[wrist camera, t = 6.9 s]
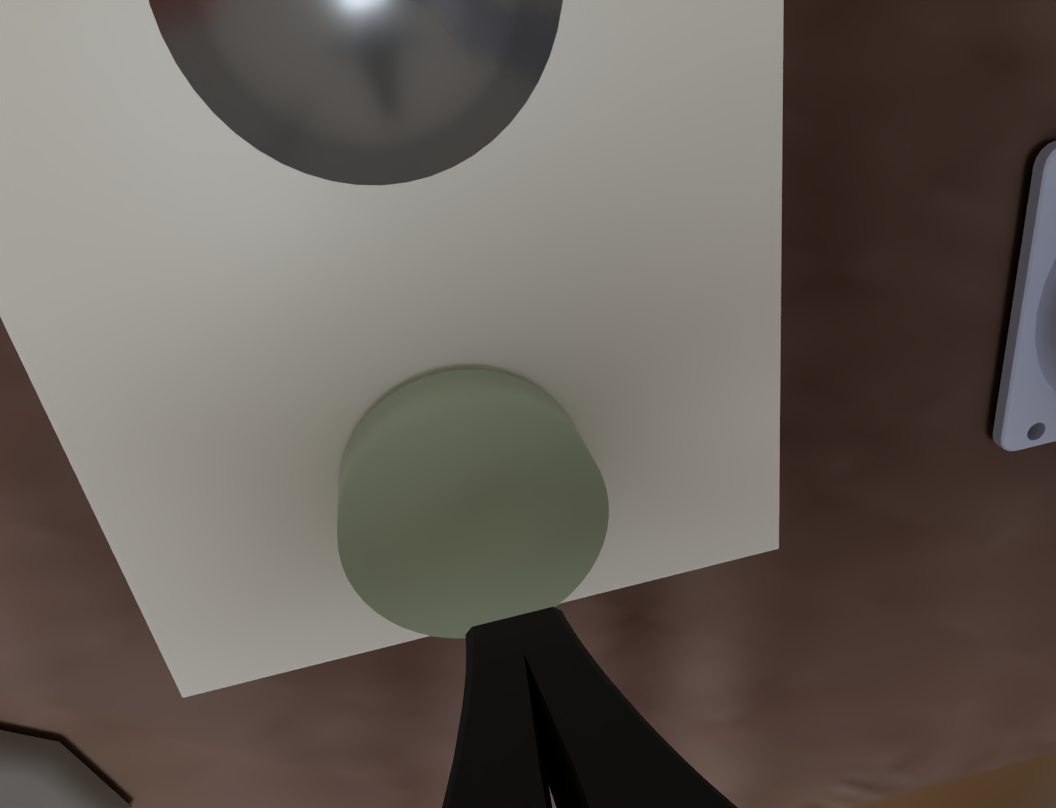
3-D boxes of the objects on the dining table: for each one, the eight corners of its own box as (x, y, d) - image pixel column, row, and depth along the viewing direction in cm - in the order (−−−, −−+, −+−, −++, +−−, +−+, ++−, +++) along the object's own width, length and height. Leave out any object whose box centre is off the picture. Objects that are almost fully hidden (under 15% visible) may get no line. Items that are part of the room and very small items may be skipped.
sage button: (570, 344, 15) (595, 380, 14) (596, 552, 17) (620, 602, 16) (308, 400, 14) (304, 444, 13) (371, 607, 17) (373, 665, 15)
